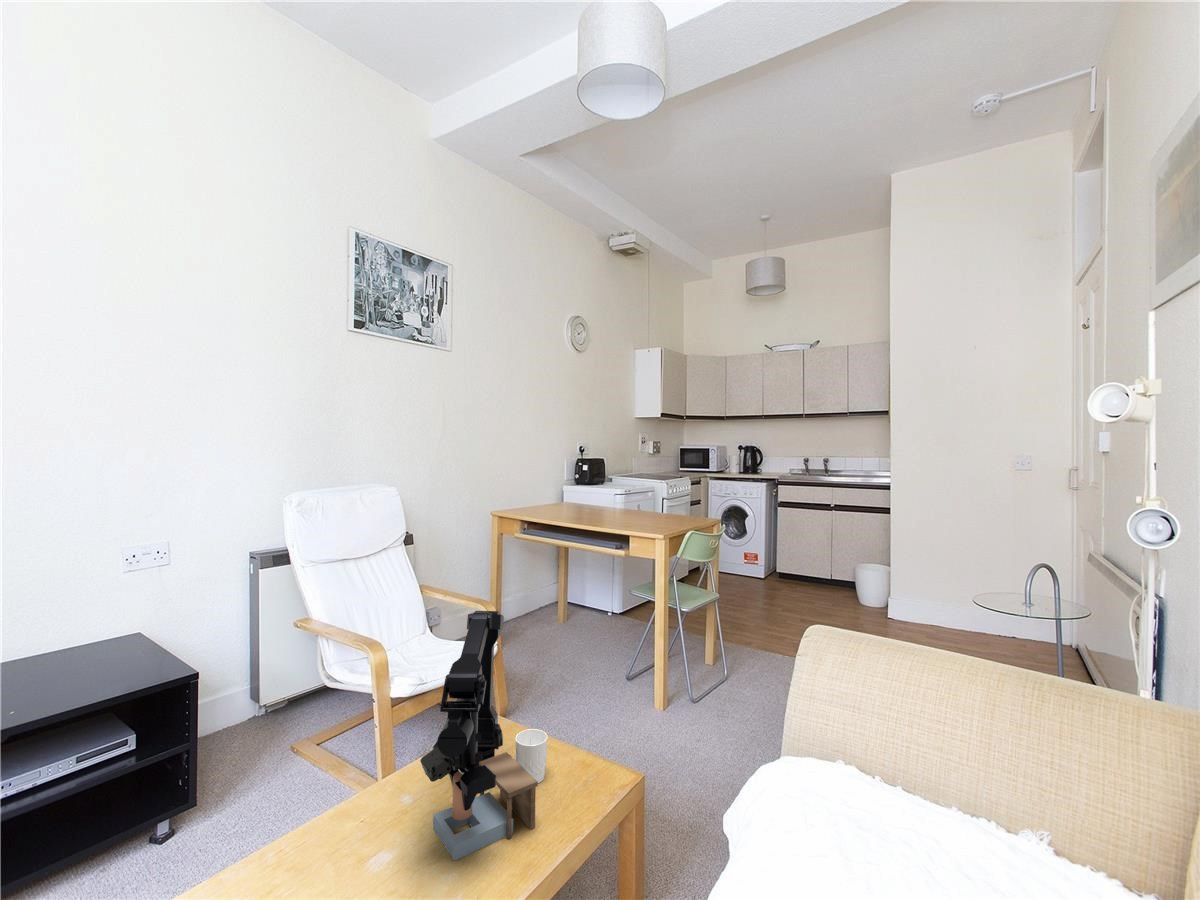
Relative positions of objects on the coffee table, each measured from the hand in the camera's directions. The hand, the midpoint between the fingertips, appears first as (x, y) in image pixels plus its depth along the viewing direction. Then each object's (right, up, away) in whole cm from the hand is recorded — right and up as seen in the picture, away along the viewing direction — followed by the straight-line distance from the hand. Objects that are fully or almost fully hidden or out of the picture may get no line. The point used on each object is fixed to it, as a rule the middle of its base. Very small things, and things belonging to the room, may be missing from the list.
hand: (462, 804), depth 114 cm
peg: (0, -2, 0) cm, 2 cm away
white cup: (+12, -7, +21) cm, 25 cm away
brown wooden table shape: (+8, -7, +6) cm, 12 cm away
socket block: (+2, -7, +1) cm, 7 cm away
